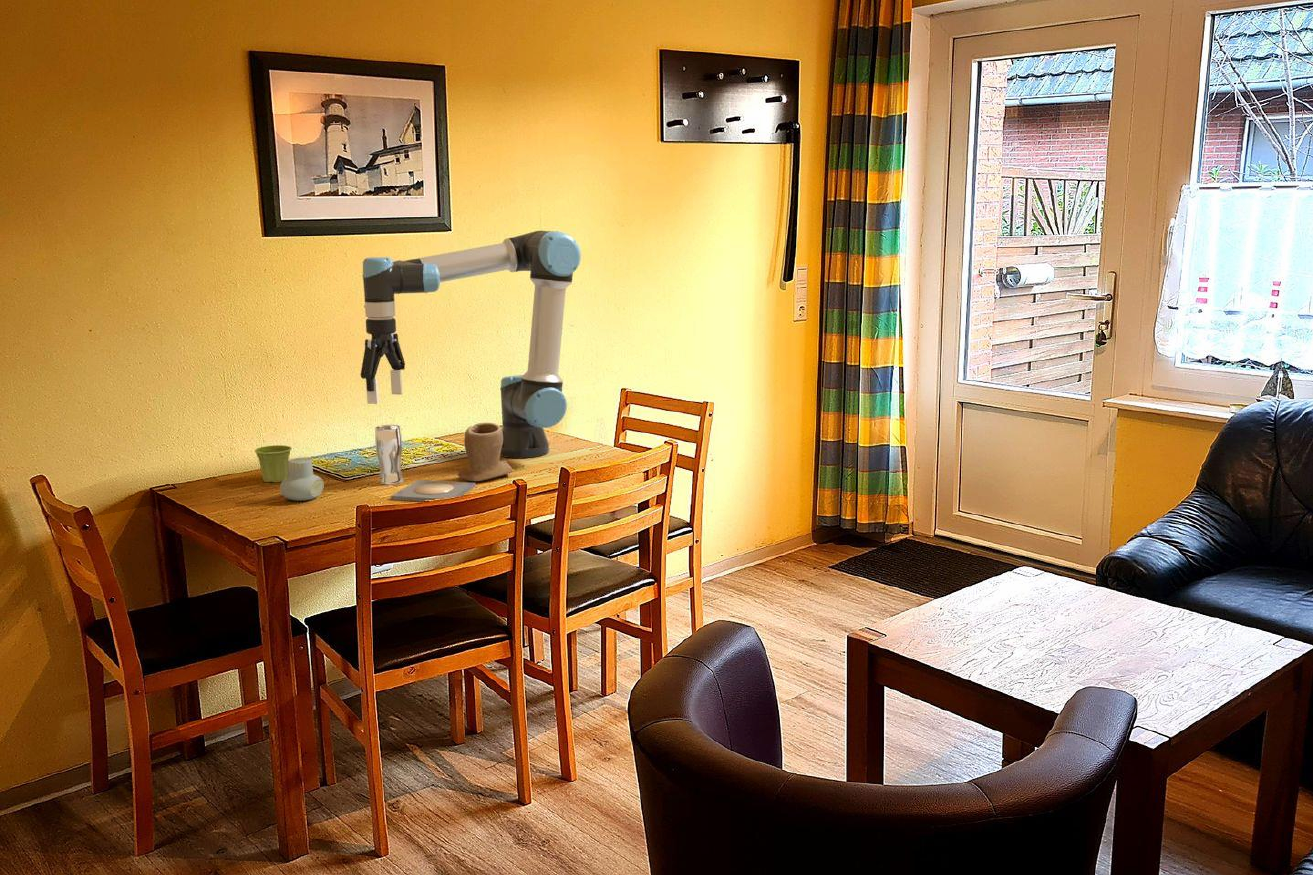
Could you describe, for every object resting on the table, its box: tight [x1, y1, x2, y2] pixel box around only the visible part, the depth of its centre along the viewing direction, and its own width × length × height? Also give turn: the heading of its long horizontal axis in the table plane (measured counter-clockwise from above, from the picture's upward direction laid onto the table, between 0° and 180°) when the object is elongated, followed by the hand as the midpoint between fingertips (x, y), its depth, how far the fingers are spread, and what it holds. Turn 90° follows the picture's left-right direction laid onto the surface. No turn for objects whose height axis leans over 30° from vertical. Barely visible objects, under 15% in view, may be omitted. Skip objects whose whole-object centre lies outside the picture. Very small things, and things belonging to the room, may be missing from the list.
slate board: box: [390, 479, 476, 502], centre depth 289 cm, size 16×16×1 cm
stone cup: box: [457, 422, 514, 482], centre depth 302 cm, size 15×12×15 cm
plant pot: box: [254, 444, 293, 483], centre depth 303 cm, size 9×9×9 cm
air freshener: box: [279, 457, 325, 502], centre depth 285 cm, size 11×8×10 cm
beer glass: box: [374, 424, 404, 486], centre depth 299 cm, size 7×7×15 cm
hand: (385, 399), depth 296 cm, fingers open, 13 cm apart
